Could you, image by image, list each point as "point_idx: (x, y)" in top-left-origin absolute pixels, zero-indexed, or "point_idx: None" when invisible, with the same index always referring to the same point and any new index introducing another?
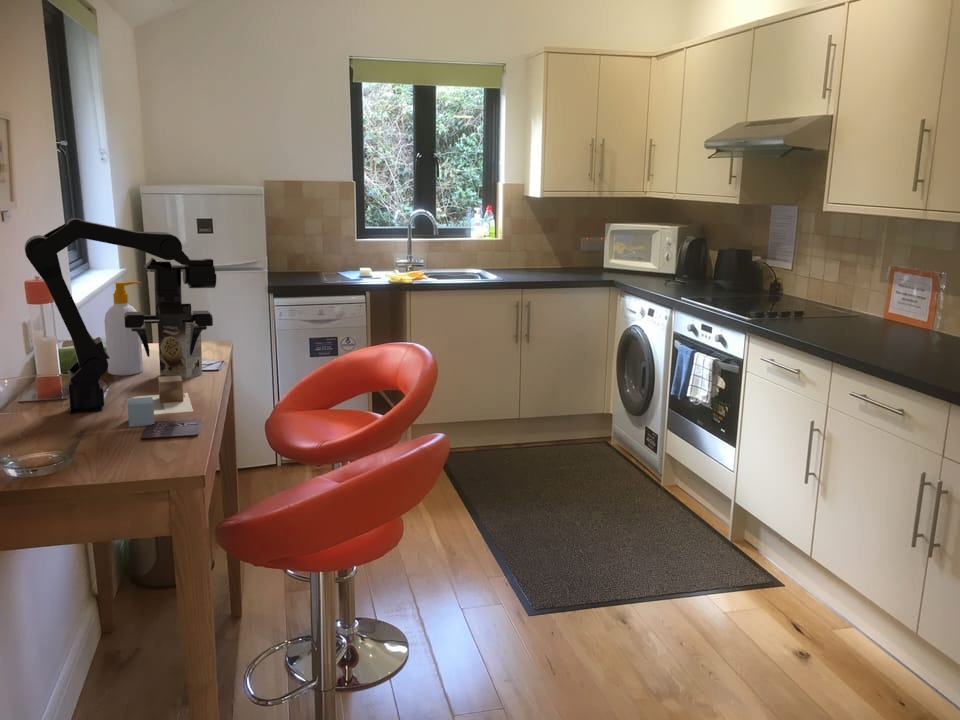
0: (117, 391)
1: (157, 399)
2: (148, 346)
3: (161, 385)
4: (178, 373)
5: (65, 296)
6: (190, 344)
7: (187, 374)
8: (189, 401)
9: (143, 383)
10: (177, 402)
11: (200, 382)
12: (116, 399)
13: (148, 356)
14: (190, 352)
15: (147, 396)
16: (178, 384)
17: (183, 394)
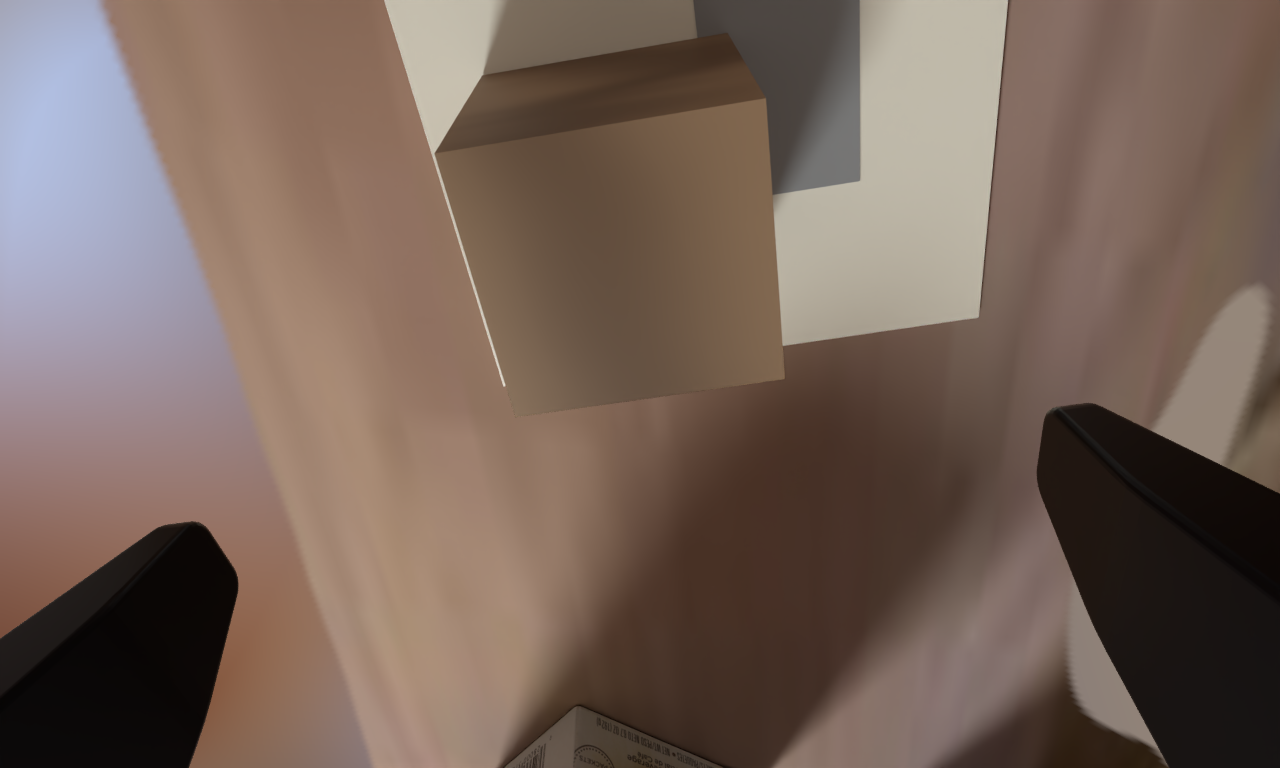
0: None
1: None
2: (1237, 559)
3: (730, 92)
4: (636, 758)
5: None
6: (53, 748)
7: (570, 739)
8: (415, 70)
9: (871, 647)
10: (542, 45)
11: (464, 640)
12: (1137, 267)
13: (1070, 408)
14: (154, 556)
15: (857, 310)
16: (499, 125)
17: None
